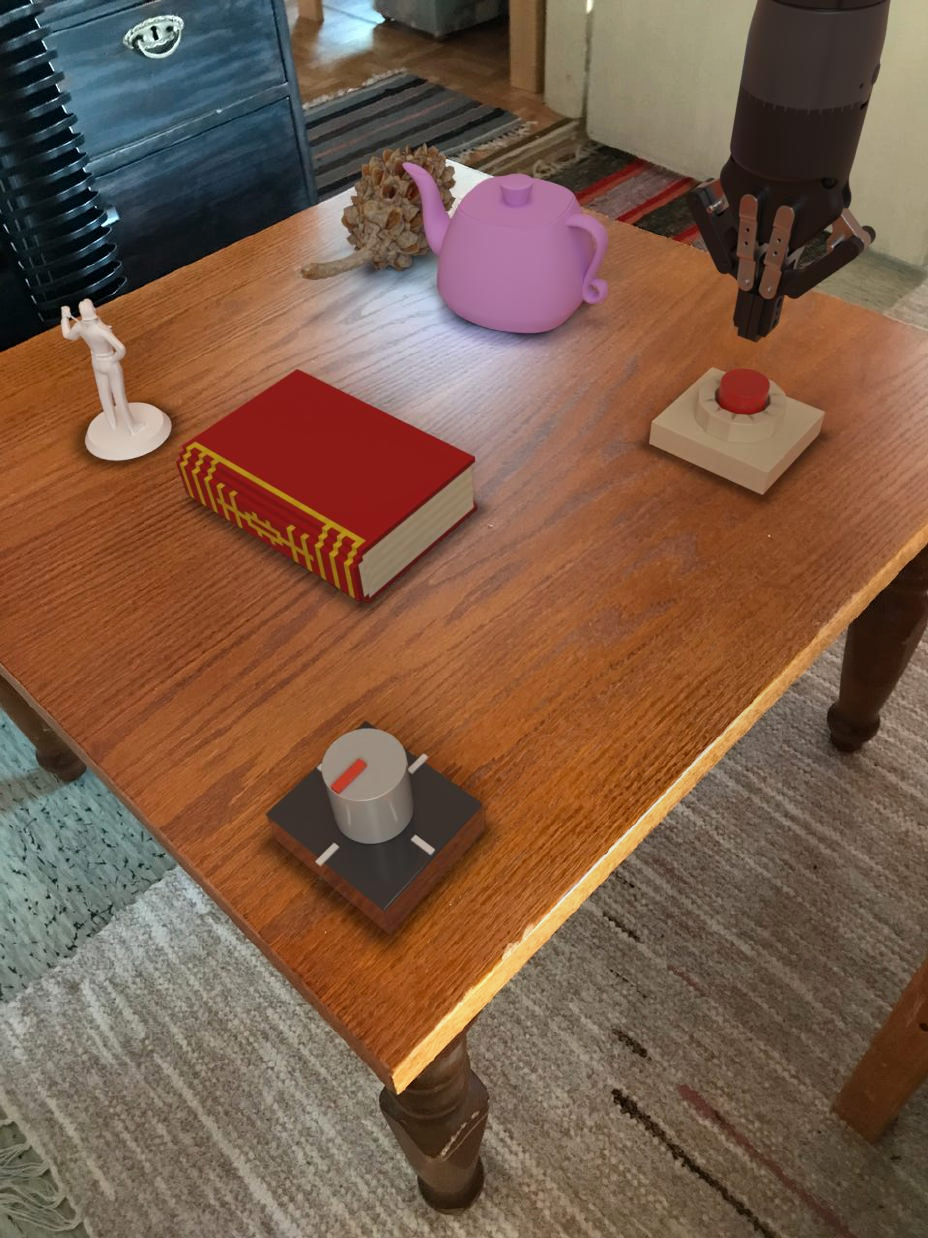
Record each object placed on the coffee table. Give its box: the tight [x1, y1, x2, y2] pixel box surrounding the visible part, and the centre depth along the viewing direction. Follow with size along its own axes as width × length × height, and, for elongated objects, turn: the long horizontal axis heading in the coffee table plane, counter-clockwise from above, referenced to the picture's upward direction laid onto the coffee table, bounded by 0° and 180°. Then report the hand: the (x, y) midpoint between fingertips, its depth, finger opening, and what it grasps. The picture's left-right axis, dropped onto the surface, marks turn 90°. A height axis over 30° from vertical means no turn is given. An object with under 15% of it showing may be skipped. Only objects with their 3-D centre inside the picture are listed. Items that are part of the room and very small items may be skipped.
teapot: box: [402, 162, 610, 334], centre depth 88 cm, size 20×13×12 cm, turn 63°
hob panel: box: [265, 720, 486, 935], centre depth 55 cm, size 9×9×3 cm
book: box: [175, 368, 478, 603], centre depth 73 cm, size 18×13×5 cm
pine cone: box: [292, 141, 457, 281], centre depth 93 cm, size 22×10×10 cm, turn 152°
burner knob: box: [321, 728, 414, 844], centre depth 52 cm, size 4×4×5 cm
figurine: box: [60, 298, 172, 461], centre depth 77 cm, size 7×7×12 cm
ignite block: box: [648, 366, 826, 496], centre depth 76 cm, size 10×9×4 cm
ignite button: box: [718, 368, 770, 415], centre depth 74 cm, size 4×4×2 cm
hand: (753, 334), depth 71 cm, fingers closed
